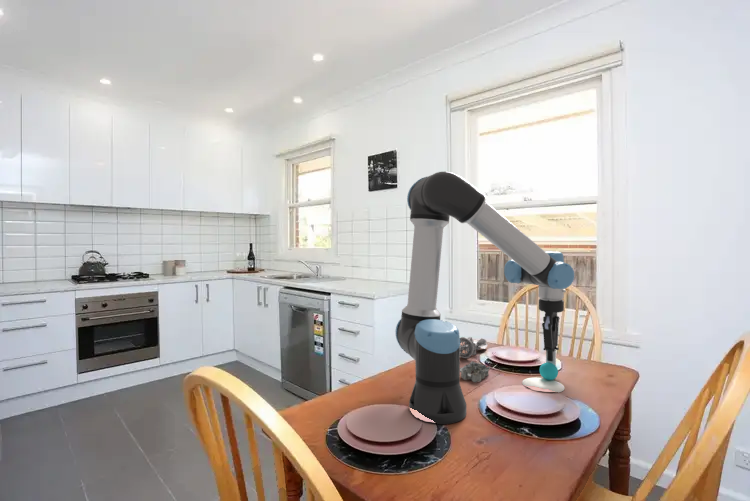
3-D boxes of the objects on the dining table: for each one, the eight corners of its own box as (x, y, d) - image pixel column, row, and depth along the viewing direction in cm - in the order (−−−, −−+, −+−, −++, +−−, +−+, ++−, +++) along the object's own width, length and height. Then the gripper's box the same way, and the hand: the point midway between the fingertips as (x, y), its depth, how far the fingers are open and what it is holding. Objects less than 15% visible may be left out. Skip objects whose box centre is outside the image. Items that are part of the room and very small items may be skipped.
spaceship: (425, 344, 138) (443, 339, 133) (475, 335, 163) (491, 331, 158) (431, 366, 136) (449, 362, 131) (480, 354, 161) (497, 350, 156)
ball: (556, 385, 122) (554, 375, 120) (538, 381, 126) (536, 370, 123) (561, 371, 125) (558, 361, 123) (543, 367, 129) (540, 357, 126)
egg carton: (477, 384, 122) (477, 372, 122) (457, 378, 127) (457, 367, 126) (492, 375, 129) (492, 363, 129) (472, 370, 134) (472, 359, 134)
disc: (559, 396, 111) (559, 395, 111) (517, 386, 119) (517, 386, 119) (568, 383, 121) (568, 383, 121) (528, 375, 128) (528, 374, 128)
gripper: (558, 303, 119) (558, 378, 120) (567, 296, 129) (567, 366, 130) (533, 300, 123) (533, 373, 124) (544, 295, 133) (544, 362, 134)
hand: (551, 369), depth 127 cm, fingers closed
